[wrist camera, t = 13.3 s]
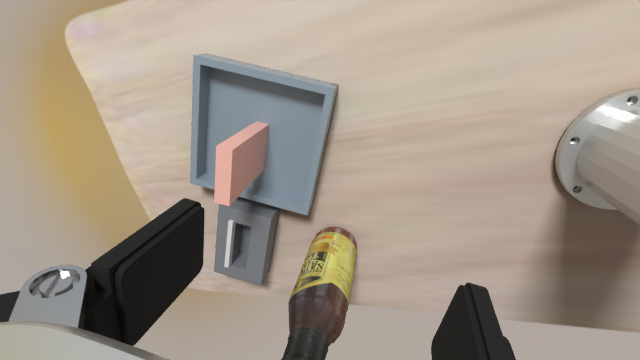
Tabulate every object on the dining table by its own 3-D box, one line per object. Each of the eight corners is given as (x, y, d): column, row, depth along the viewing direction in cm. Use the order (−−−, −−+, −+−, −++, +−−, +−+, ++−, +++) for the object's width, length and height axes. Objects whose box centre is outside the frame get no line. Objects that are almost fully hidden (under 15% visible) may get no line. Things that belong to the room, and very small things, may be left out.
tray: (338, 84, 36) (334, 88, 33) (312, 204, 42) (307, 215, 40) (207, 53, 37) (193, 54, 34) (202, 174, 44) (190, 183, 41)
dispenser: (280, 206, 43) (270, 220, 40) (269, 269, 48) (260, 287, 45) (230, 192, 44) (216, 205, 40) (224, 256, 49) (212, 273, 45)
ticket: (269, 124, 38) (232, 149, 29) (264, 169, 41) (229, 206, 32) (256, 121, 38) (216, 145, 29) (252, 166, 41) (214, 202, 32)
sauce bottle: (329, 215, 42) (288, 343, 25) (367, 242, 43) (353, 386, 25) (303, 246, 45) (248, 381, 27) (339, 271, 46) (308, 419, 28)
